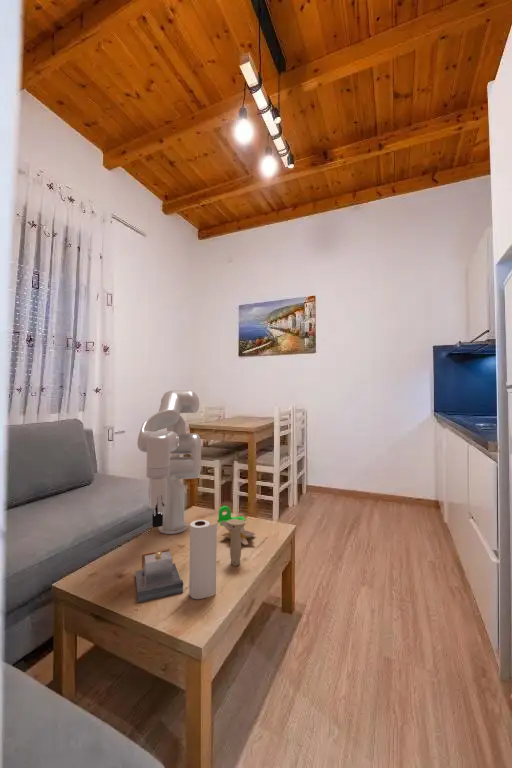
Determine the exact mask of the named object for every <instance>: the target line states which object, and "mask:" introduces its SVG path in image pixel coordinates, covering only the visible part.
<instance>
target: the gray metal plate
mask: <svg viewBox="0 0 512 768" xmlns="http://www.w3.org/2000/svg"><path fill="white" fill-rule="evenodd" d="M134 574H135V585H136V594H137V603H143V602H147V601H152V600H156V599H160V598H166V597H169V596H173V595H177V594H182V593H184V581H183V579H181V578H180V573H179V571H178V568H177V565H176V563H175V562H174V563H172V581H167V582H163V583H158V584H154V585H149V586H146V584H145V578H144V574H142V569H139V570H135V573H134Z"/></svg>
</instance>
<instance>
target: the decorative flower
mask: <svg viewBox="0 0 512 768" xmlns="http://www.w3.org/2000/svg"><path fill="white" fill-rule="evenodd" d="M221 523H222V524H223V525H222V526H223V527H224V528H225V529H226V530H227V531H228V532H225V533H223V534H220V536H222V537H225V538H227V539H230V540H231V528H230V527H228V526H227V522H226V521H221ZM240 535H241V544H242V545H249V542H248V540H247V539H248V538H252V537H254V536H256V533H255V532H252V531H249V530H245V526H244V527H243V528H241V529H240Z"/></svg>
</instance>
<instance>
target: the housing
mask: <svg viewBox="0 0 512 768" xmlns="http://www.w3.org/2000/svg"><path fill="white" fill-rule="evenodd" d="M155 551H156V552H155V554H152V555H147V556H145V572H144V578H145V584H146V586H149V585H154V584H158V583H163V582H167V581H172V564H173V556H172V554H171V550H170V551H168V552H163V553H162V551H157V550H155Z"/></svg>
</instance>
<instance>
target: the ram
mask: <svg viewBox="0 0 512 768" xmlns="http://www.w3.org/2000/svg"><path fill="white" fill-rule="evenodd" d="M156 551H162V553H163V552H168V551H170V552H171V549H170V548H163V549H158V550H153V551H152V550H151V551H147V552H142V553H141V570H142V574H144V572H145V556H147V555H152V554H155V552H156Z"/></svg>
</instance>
